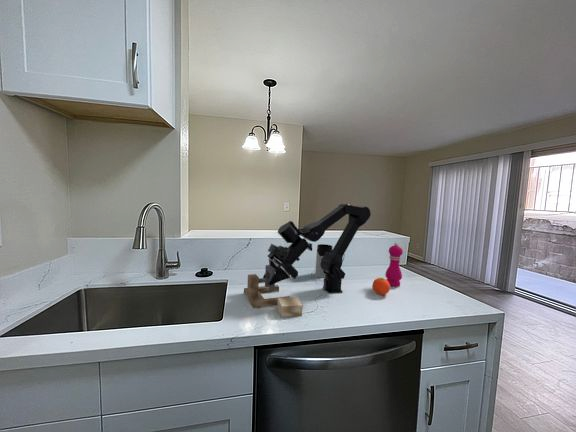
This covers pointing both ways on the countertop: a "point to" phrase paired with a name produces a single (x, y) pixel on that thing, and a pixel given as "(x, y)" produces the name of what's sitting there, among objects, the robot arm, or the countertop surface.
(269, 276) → the gray arch
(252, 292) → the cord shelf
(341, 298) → the countertop surface
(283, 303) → the oak block
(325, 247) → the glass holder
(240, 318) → the countertop surface
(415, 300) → the countertop surface
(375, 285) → the clementine
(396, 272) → the pepper mill
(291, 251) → the robot arm
